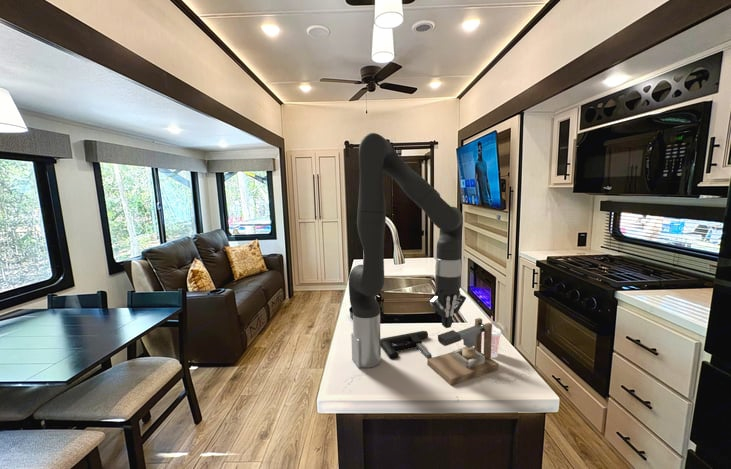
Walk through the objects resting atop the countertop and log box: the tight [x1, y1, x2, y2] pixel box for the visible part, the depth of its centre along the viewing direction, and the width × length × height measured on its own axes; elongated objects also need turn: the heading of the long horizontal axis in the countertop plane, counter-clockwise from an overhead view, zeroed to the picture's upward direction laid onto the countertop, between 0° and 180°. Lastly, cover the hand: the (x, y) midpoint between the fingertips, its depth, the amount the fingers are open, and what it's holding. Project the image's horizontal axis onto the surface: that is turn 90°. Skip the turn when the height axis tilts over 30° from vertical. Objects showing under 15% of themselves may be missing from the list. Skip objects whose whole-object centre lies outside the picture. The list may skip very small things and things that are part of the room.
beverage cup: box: [482, 315, 502, 359], centre depth 105 cm, size 6×6×14 cm
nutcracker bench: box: [426, 317, 500, 386], centre depth 97 cm, size 19×12×14 cm, turn 113°
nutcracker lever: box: [437, 322, 485, 348], centre depth 97 cm, size 18×4×6 cm, turn 113°
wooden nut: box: [462, 346, 475, 360], centre depth 99 cm, size 4×4×4 cm
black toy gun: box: [380, 330, 432, 360], centre depth 110 cm, size 3×20×16 cm
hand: (446, 326), depth 93 cm, fingers closed
